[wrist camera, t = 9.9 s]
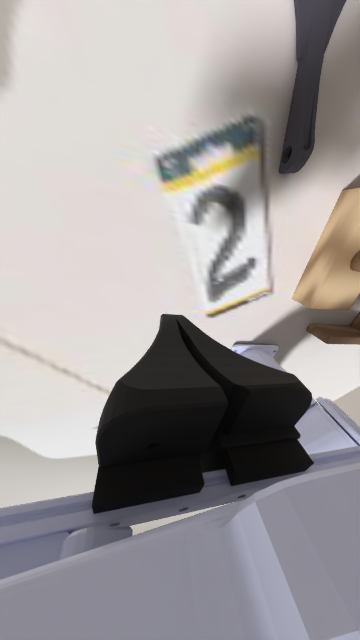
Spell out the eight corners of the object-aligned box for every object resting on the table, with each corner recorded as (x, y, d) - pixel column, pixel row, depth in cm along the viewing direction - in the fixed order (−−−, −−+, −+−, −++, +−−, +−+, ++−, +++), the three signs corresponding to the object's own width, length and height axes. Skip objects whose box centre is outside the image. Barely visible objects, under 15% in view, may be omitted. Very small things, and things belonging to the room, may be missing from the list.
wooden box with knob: (323, 299, 25) (369, 319, 20) (289, 297, 23) (329, 318, 18) (380, 200, 19) (464, 193, 14) (339, 190, 18) (416, 178, 13)
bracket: (208, 179, 15) (220, 171, 13) (215, -233, 8) (246, -428, 5) (342, 173, 17) (374, 165, 15) (453, -164, 10) (553, -287, 7)
